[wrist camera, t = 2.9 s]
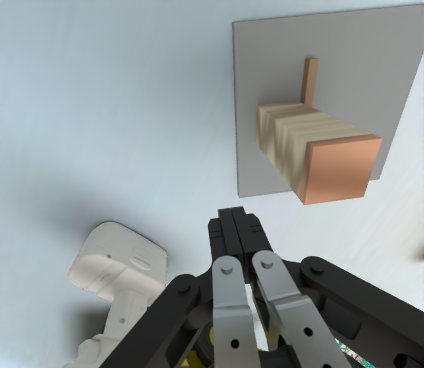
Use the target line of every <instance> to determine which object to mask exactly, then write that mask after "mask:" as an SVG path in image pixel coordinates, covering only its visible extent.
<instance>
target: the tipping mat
mask: <svg viewBox="0 0 424 368" xmlns="http://www.w3.org/2000/svg"><path fill="white" fill-rule="evenodd" d="M423 52H424V4H420V5H409V6H399V7H388V8H378V9H367V10H357V11H346V12H336V13H325V14H315V15H304V16H294V17H283V18H273V19H263V20H252V21H242V22H234V23H233V55H234V87H235V119H236V152H237V184H238V196H239V198H243V197H251V196H258V195H266V194H273V193H281V192H288V191H293V190H292V189H291V188H290V186H289V185H288V184H287V183H286V181H285V180H284V179H283V177H282V176H281V175H280V174H279V172H278V171H277V170H276V169H275V167H274V166H273V165H272V163H271V162H270V161H269V160H268V158H267V157H266V156H265V155H264V153H263V152H262V151H261V149H260V148H259V147H258V146H257V144H256V119H257V105H263V104H272V103H281V102H290V101H298V102H300V103H303V104H305V105H307V106H310V107H312V108H314V109H316V110H319V111H321V112H323V113H326V114H328V115H330V116H333V117H335V118H337V119H339V120H342V121H344V122H346V123H349V124H351V125H353V126H355V127H358V128H360V129H362V130H365V131H367V132H369V133H372V134H374V135H376V136H378V137H381V138H383V139H382V142H381V145H380V148H379V151H378V154H377V157H376V160H375V163H374V166H373V169H372V173H371V176H370V179H369V181H370V180H377V179H379V178H380V175H381V172H382V169H383V166H384V164H385V161H386V158H387V155H388V152H389V149H390V146H391V144H392V141H393V138H394V135H395V132H396V129H397V126H398V124H399V121H400V118H401V115H402V112H403V109H404V106H405V104H406V101H407V98H408V95H409V92H410V89H411V86H412V84H413V81H414V78H415V75H416V72H417V69H418V66H419V64H420V61H421V58H422V55H423Z"/></svg>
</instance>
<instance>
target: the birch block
mask: <svg viewBox="0 0 424 368" xmlns="http://www.w3.org/2000/svg"><path fill="white" fill-rule="evenodd" d="M382 139H383V138H381V137H378V136H376V135H374V134H372V133H369V132H367V131H365V130H362V129H360V128H358V127H355V126H353V125H351V124H349V123H346V122H344V121H342V120H339V119H337V118H335V117H333V116H330V115H328V114H326V113H323V112H321V111H319V110H316V109H314V108H312V107H310V106H307V105H305V104H303V103H300V102H298V101H290V102H281V103H272V104H263V105H257V119H256V144H257V146H258V147H259V148H260V149H261V151H262V152H263V153H264V155H265V156H266V157H267V158H268V160H269V161H270V162H271V163H272V165H273V166H274V167H275V169H276V170H277V171H278V172H279V174H280V175H281V176H282V177H283V179H284V180H285V181H286V183H287V184H288V185H289V186H290V188H291V189H292V190H293V191H294V193H295V194H296V195H297V197H298V198H299V199H300V200H301V202H302V203H303V204H304V205H309V204H316V203H323V202H330V201H338V200H345V199H352V198H360V197H364V194H365V191H366V188H367V185H368V182H369V179H370V176H371V173H372V169H373V166H374V163H375V160H376V157H377V154H378V151H379V148H380V145H381V142H382Z"/></svg>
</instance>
